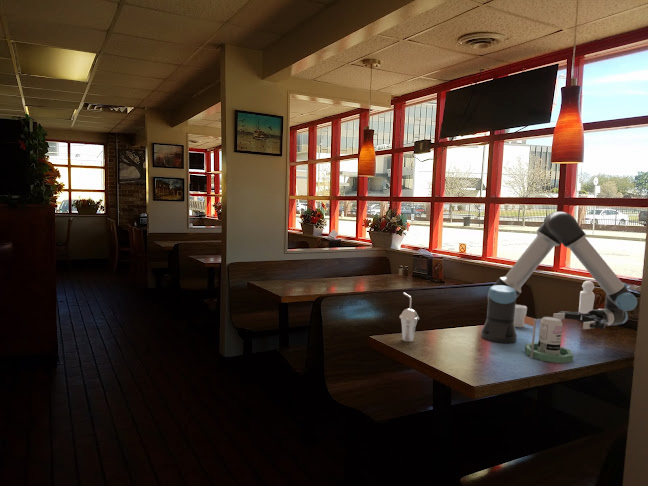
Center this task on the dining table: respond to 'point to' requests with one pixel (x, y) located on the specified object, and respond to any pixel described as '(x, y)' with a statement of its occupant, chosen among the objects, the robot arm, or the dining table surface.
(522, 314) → the white cup
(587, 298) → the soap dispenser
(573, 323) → the dining table surface
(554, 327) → the supplement can
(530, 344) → the cup
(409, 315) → the cup with straw
